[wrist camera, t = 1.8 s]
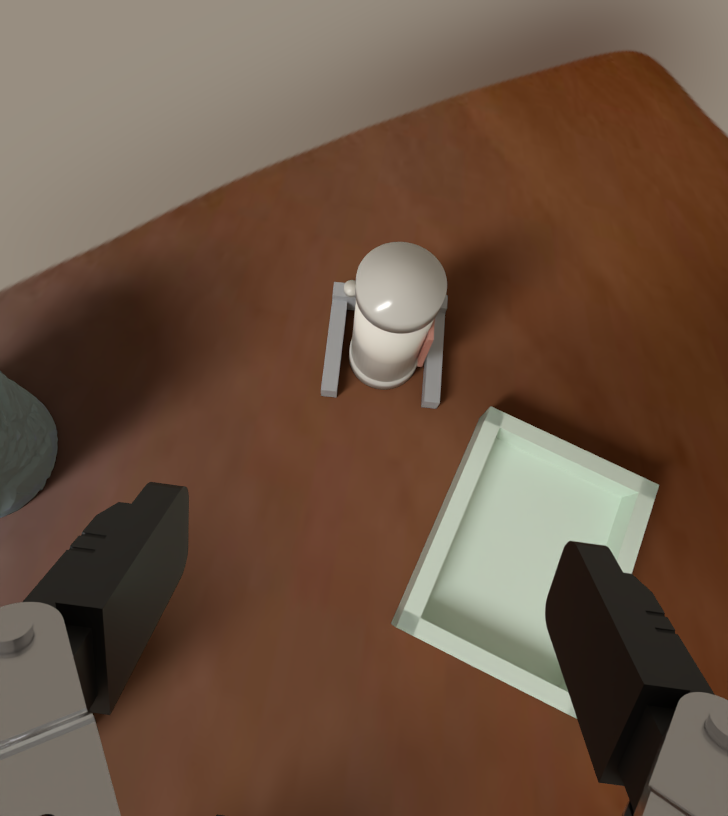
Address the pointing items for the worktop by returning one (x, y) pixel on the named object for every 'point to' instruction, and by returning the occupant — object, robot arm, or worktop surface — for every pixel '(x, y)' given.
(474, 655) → the tray
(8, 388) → the teal cup
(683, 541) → the worktop surface
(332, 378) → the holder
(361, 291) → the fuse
